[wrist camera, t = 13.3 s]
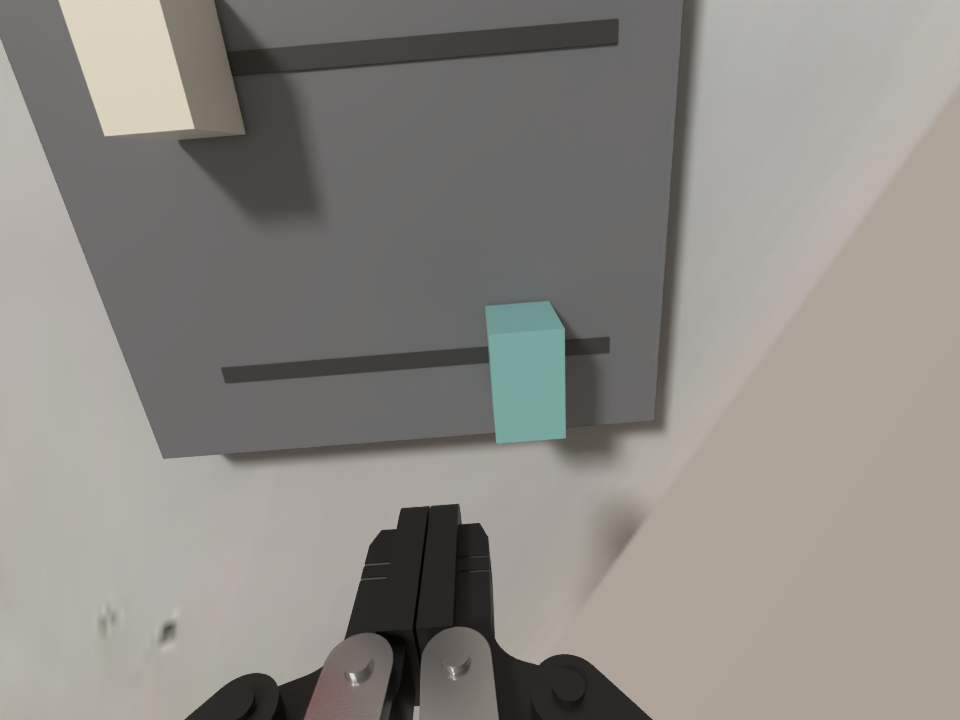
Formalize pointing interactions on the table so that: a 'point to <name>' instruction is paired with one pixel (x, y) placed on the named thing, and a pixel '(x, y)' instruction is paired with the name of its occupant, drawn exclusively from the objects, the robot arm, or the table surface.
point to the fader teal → (526, 371)
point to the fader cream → (155, 67)
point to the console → (376, 213)
